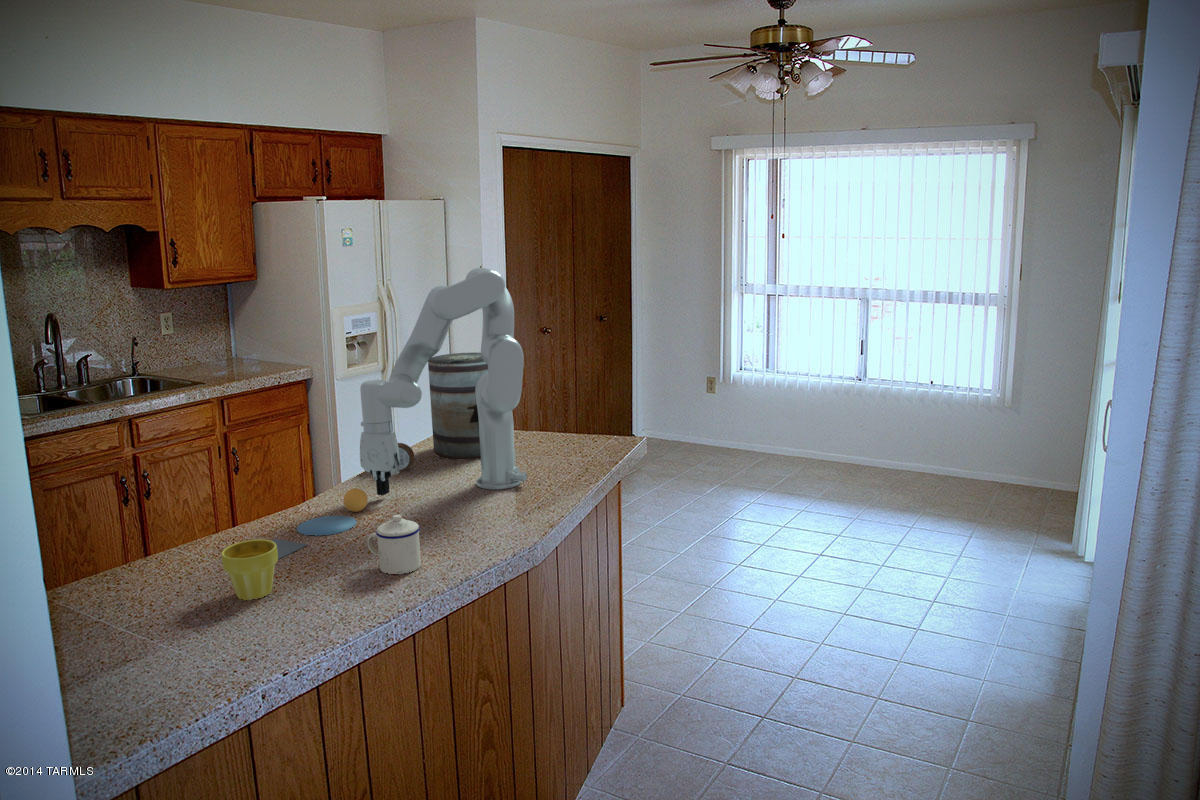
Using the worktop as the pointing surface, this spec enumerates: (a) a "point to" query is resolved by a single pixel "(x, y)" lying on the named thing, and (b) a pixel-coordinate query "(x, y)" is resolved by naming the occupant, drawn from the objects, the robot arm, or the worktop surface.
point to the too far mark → (287, 547)
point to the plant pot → (251, 567)
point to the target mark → (326, 525)
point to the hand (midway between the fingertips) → (383, 493)
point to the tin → (405, 456)
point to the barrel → (455, 404)
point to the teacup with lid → (397, 546)
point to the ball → (355, 500)
